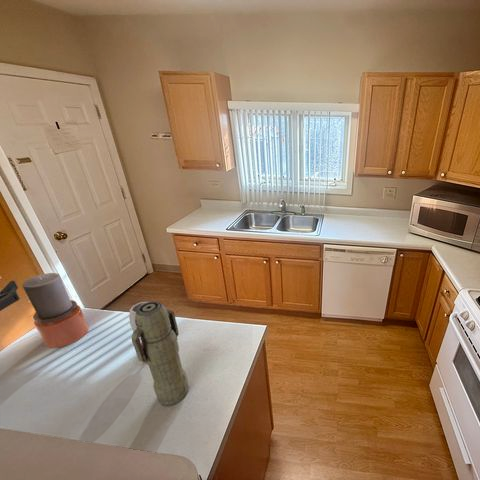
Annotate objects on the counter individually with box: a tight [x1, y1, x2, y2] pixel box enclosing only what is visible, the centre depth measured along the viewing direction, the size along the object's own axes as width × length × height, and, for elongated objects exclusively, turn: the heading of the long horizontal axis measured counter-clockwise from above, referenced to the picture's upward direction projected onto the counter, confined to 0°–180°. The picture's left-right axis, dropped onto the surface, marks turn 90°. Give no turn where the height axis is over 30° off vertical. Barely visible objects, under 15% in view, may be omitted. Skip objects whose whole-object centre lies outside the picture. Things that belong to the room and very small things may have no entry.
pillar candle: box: [21, 272, 72, 318], centre depth 94 cm, size 10×10×15 cm
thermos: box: [131, 300, 190, 407], centre depth 75 cm, size 9×12×35 cm
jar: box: [32, 299, 90, 349], centre depth 100 cm, size 13×13×13 cm
